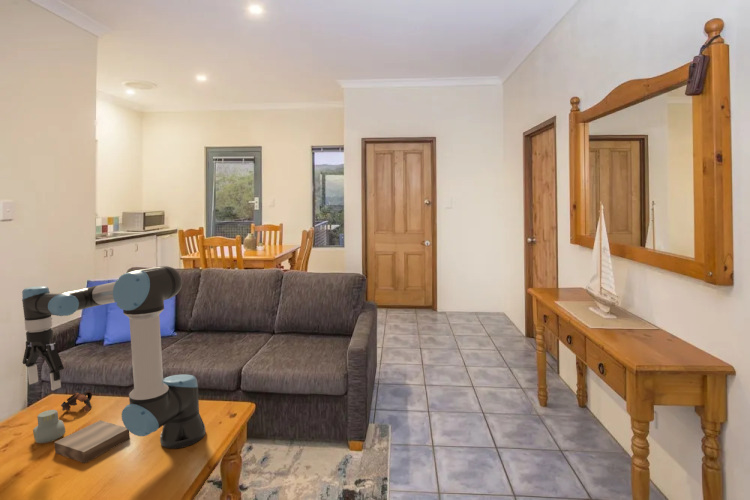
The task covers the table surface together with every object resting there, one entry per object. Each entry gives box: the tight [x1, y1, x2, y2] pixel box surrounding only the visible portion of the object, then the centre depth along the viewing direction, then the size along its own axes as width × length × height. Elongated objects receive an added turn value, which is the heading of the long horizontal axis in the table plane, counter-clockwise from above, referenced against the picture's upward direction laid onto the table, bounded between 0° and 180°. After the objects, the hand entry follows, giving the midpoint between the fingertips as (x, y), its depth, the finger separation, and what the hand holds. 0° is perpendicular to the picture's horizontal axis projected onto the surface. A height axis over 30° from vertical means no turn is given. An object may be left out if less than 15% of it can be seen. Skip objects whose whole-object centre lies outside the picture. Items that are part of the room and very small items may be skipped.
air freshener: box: [32, 409, 66, 444], centre depth 152 cm, size 11×8×10 cm
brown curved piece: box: [60, 390, 93, 413], centre depth 175 cm, size 12×10×8 cm
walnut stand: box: [53, 420, 131, 464], centre depth 147 cm, size 16×16×4 cm
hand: (44, 385), depth 150 cm, fingers open, 13 cm apart
